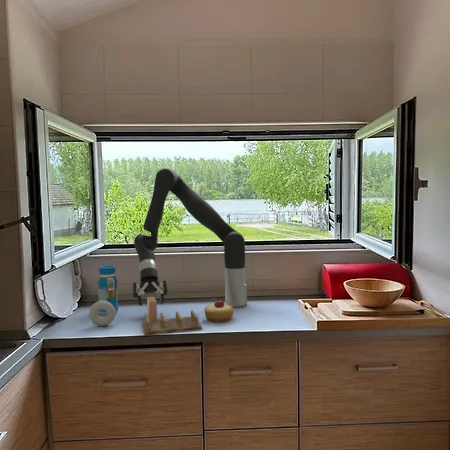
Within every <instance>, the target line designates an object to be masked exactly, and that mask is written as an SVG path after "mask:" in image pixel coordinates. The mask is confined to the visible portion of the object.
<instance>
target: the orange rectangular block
mask: <svg viewBox="0 0 450 450" xmlns="http://www.w3.org/2000/svg"><path fill="white" fill-rule="evenodd" d="M146 305H147V306H146V307H147V308H146V309H147V314H148V318H149V320H158V309H157V308H158V306H157V300H156V297H155V296H147V297H146Z"/></svg>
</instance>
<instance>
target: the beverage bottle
mask: <svg viewBox="0 0 450 450" xmlns="http://www.w3.org/2000/svg"><path fill="white" fill-rule="evenodd" d="M98 272H99V278H98V280H97V284H98V286H97V292H98V294H97V295H98V301H107V302H110V303H111V304H112V305H113V306H114V308H115V312H116V313H118V311H119V304H118V303H119V302H118V300H119V299H118V297H119V296H118V289H119V286H118V279H117V277H116V276H115V274H116V266H115V265H101V266H99V268H98ZM98 314H100V315H107V312H106V311H105V310H103V309H101V310H99V311H98Z"/></svg>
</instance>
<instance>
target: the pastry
mask: <svg viewBox="0 0 450 450" xmlns="http://www.w3.org/2000/svg"><path fill="white" fill-rule="evenodd" d="M213 300H217V301H215V303H212V304H210V305H208V306H206V307H205V308H204V317H205V318H206V320H207V321H208V322H210V323H223V322H224V323H225V322H228V321H231V320H232V318H233V316H234V312H235V311H234V307H232V306H231V305H226V304H225V302H224V300H221V299H220V300H219V299H218V298H216V297H213V298H212V299H211V300H210V301H209V302H213Z"/></svg>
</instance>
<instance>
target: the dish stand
mask: <svg viewBox="0 0 450 450" xmlns="http://www.w3.org/2000/svg"><path fill="white" fill-rule="evenodd" d="M159 315H160V319H157V320H149V318H148V313H146V314H144V320H142V321H141V324H142V328H143V333H144V336H153V335H163V334H164V335H165V334H172V333H182V332H184V333H185V332H192V331H202V330H203V325H202V324H201V323H200V321H199V316H198V315H197V313H196V312H195V311H194V310H193V309H191V310H190V316H184V317H183V316H182V315H181V314H180V313H179V311H175V317H172V318H171V317H170V318H166V317H165V314H164V312H160V314H159Z"/></svg>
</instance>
